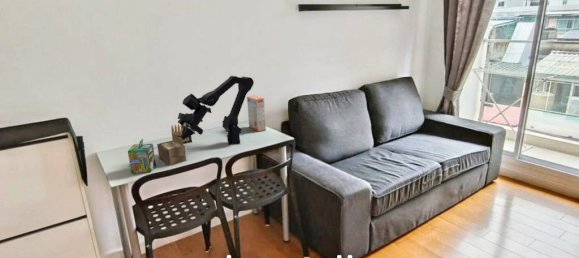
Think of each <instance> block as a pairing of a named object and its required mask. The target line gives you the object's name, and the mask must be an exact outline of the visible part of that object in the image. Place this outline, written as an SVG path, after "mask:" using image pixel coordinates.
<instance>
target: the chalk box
mask: <svg viewBox="0 0 579 258" xmlns="http://www.w3.org/2000/svg"><path fill="white" fill-rule="evenodd" d="M143 142H144V139H143V138H142V139H140V140H139V143H136V144H133V145H132V146H131V147H130V148H128V150H127V155H128V160H129V165H130V167H129V168H130V172H131V174H144V173H151V172H152V171H153V170H154V169H155V167H156V166H157V163H156V157H155V148H154V144H153V143H143Z"/></svg>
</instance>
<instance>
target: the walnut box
mask: <svg viewBox="0 0 579 258" xmlns="http://www.w3.org/2000/svg"><path fill="white" fill-rule="evenodd" d="M172 141H174V140H172V139H171V140H169V141H165V142H160V143H156V145H157V153H158V158H159V160H160V161H161V162H164V164H166V165H168V166H169V167H170V166H173V165H176V164H181V163H183V162H187V154H186V146H185V144H183V146H179V147H175V148H171V149H166V148H165V147H163V146H161V144H164V143H168V142H172Z"/></svg>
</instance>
